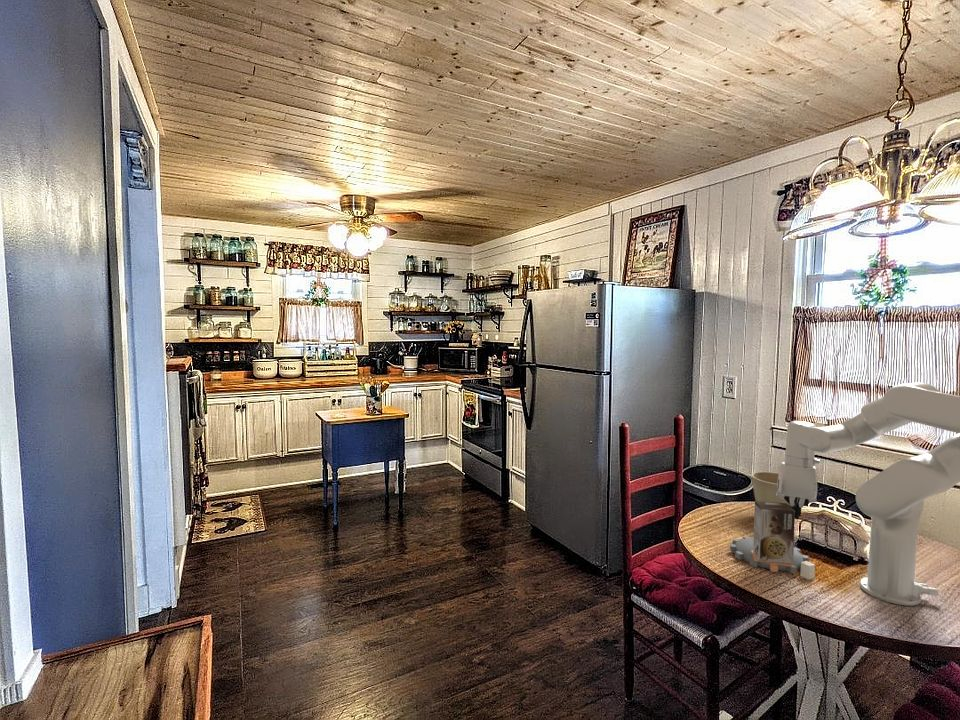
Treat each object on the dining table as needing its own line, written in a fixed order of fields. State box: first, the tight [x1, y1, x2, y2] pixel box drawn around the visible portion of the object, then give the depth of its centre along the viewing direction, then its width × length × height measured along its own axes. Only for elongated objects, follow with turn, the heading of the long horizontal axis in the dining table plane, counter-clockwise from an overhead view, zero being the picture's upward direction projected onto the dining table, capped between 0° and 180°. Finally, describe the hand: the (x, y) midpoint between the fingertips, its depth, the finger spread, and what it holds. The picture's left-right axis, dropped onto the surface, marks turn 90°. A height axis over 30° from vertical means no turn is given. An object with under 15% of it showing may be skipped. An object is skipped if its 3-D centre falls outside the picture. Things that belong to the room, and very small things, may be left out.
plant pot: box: [751, 471, 796, 505], centre depth 180 cm, size 15×15×16 cm
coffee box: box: [753, 500, 796, 564], centre depth 145 cm, size 9×6×16 cm
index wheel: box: [729, 535, 810, 574], centre depth 151 cm, size 21×22×6 cm
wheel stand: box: [799, 561, 816, 581], centre depth 147 cm, size 15×15×4 cm
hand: (794, 517), depth 154 cm, fingers closed
